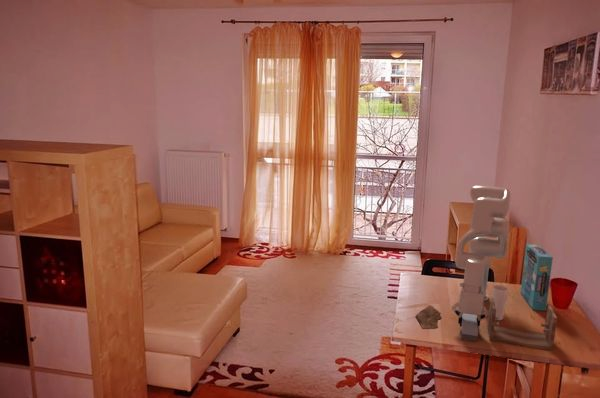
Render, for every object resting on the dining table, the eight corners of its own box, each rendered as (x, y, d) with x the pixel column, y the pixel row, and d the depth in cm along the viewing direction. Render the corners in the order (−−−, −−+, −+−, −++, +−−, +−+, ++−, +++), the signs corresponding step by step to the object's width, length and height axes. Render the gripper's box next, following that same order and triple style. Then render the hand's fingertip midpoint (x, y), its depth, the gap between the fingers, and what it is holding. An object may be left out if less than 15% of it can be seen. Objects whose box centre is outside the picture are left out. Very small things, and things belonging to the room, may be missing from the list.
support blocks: (460, 320, 209) (461, 314, 208) (474, 322, 207) (475, 316, 206) (461, 339, 192) (462, 332, 191) (476, 341, 190) (477, 335, 189)
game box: (546, 311, 220) (553, 257, 214) (532, 310, 221) (539, 256, 215) (532, 294, 239) (539, 244, 234) (519, 293, 240) (526, 243, 235)
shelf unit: (487, 327, 202) (490, 297, 200) (546, 336, 196) (551, 305, 193) (489, 340, 191) (493, 309, 188) (552, 350, 184) (557, 318, 181)
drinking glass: (494, 322, 207) (497, 291, 204) (485, 315, 214) (489, 285, 211) (507, 321, 209) (511, 290, 205) (499, 314, 215) (502, 284, 212)
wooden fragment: (436, 332, 198) (436, 329, 198) (410, 326, 202) (411, 324, 202) (444, 308, 221) (444, 306, 221) (421, 304, 225) (421, 302, 225)
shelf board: (460, 313, 209) (461, 308, 208) (474, 315, 207) (475, 310, 207) (462, 333, 190) (462, 328, 190) (477, 336, 188) (478, 330, 188)
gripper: (451, 287, 194) (447, 327, 198) (495, 293, 189) (490, 333, 193) (451, 281, 201) (447, 319, 205) (493, 287, 196) (489, 325, 200)
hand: (468, 326), depth 199 cm, fingers closed on shelf board, 6 cm apart
